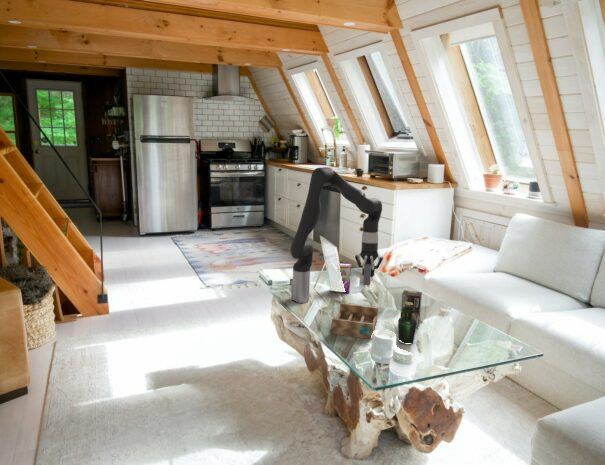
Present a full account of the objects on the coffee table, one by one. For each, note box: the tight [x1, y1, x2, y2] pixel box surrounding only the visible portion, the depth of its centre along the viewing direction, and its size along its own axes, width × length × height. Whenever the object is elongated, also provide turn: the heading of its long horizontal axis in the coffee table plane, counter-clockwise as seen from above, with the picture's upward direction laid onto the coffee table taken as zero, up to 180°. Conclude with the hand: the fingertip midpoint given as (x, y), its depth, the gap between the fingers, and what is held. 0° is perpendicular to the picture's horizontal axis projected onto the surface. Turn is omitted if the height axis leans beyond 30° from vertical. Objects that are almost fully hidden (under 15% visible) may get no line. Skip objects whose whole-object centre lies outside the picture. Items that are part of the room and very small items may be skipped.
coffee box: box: [400, 290, 423, 329], centre depth 234 cm, size 9×6×16 cm
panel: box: [362, 262, 373, 286], centre depth 229 cm, size 3×12×10 cm, turn 166°
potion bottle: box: [397, 302, 417, 344], centre depth 214 cm, size 8×8×18 cm
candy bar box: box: [338, 262, 352, 294], centre depth 278 cm, size 11×5×16 cm, turn 84°
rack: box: [331, 302, 379, 340], centre depth 229 cm, size 19×23×7 cm
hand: (368, 276), depth 229 cm, fingers closed on panel, 3 cm apart
